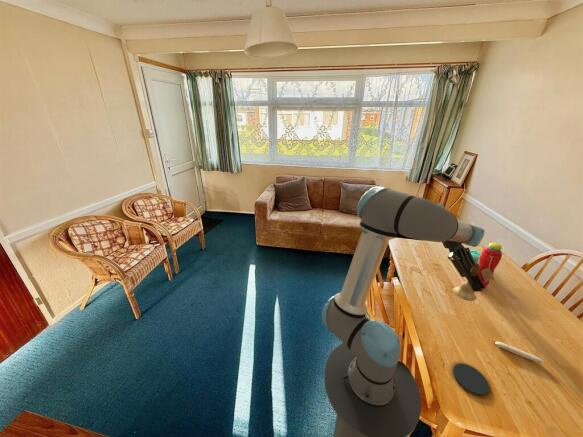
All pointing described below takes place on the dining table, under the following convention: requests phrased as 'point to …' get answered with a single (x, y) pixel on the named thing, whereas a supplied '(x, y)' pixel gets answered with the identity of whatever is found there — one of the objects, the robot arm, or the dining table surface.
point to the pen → (519, 352)
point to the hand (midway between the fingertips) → (479, 289)
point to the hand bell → (467, 286)
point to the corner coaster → (470, 379)
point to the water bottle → (489, 262)
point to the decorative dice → (475, 255)
